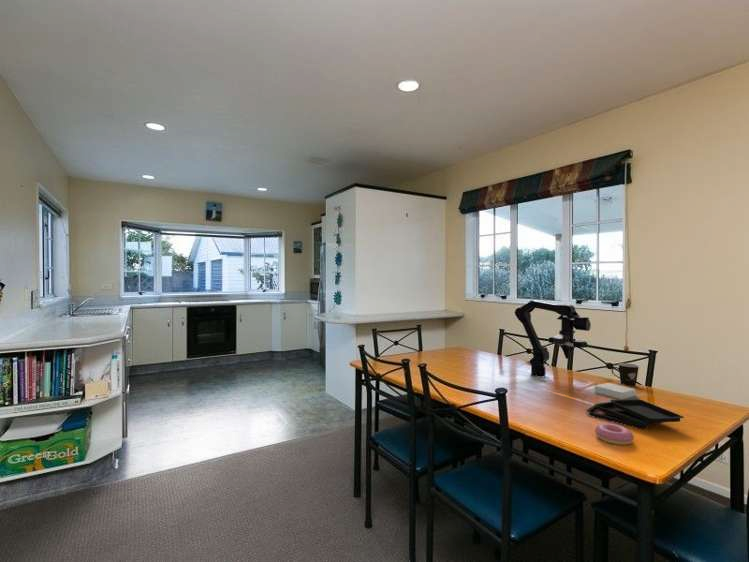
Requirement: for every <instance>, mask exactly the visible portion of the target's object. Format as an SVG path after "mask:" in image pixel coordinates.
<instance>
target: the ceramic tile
mask: <svg viewBox="0 0 749 562" xmlns="http://www.w3.org/2000/svg"><path fill="white" fill-rule="evenodd" d="M594 388H595V392H596V393H600V394H604V395H607V396H611V397H614V398H618V399H626V398H630V397H634V396H636V395H637V393H636V392H637V389H635V388H632V387H628V386H625V385H619V384H616V383H612V382H606V383H602V384H597V385H594Z"/></svg>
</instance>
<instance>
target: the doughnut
mask: <svg viewBox="0 0 749 562" xmlns="http://www.w3.org/2000/svg"><path fill="white" fill-rule="evenodd" d="M594 432H595V435H596V436H597V437H598V439H600V440H602V441H603V442H606V443H608V444H611V443H612V444H613V445H616V444H617V445H616V446H627V445H630V444H632V442H633V441H634V436H635V435H633V432H632V431H630V429H628V428H626V427H624V426H621V425H619V424H614V423H604V422H603V423H600V424H598V425H597V426H596V427H595V430H594Z"/></svg>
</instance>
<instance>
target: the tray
mask: <svg viewBox="0 0 749 562" xmlns="http://www.w3.org/2000/svg"><path fill="white" fill-rule="evenodd" d="M597 409H598V410H597ZM595 410H596V411H600V412H602V413H605V414H607V415H605V414H600V413H597V412H596V411H595ZM585 411H586V412H587V413H589V414H590V415H591V416H590V415H589V416H590V417H593V416H594V418H597V417H598V419H600V418H601V420H604V419H605V421H608V420H609V421H608V422H612V421H614V422H613V423H616V422H618V423H617V424H620V423H622V424H621V425H624V424H626V425H625V426H627V425H629V426H628V427H631V426H633V427H632V428H635V427H637V428H636V429H639V428H641V429H640V430H645V429H647V428H648V426H651V425H657V424H663V423H677V422H678V423H679V422H681V419H684V418H685V416H683V415H681V414H678V413H676V412H673V411H671V410H668V409H665V408H663V407H661V406H658V405H655V404H653V403H650V402H648V401H645V400H643V399H639V398H636V399H623V400H615V399H610V401H607V402H599V403H594V405H593V406H591V407H589V408H588V409H586V410H585ZM594 411H595V412H594ZM608 415H609V416H608ZM610 415H611V416H610ZM612 416H613V417H612Z"/></svg>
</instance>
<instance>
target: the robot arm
mask: <svg viewBox="0 0 749 562" xmlns="http://www.w3.org/2000/svg"><path fill="white" fill-rule="evenodd" d="M535 309H539V310H544V311H549V312H554V313H556V314H558V315H559V317H557V318H556V319H557V320H560V321H561V322H560V324H561V325H560V329H561V330H559V333H558V334H556V335H554V336H550V337H548V338H547V339H548V342H547V343H549V344H550V343H551V344H557V346H559V347H560V348H561V349H562V352H563V355H564V357H565V359H566V360H567V359H569V358H570V356H571V354H572V353H573V351H574V349H575V348H579V349H583V348H588V345H589V344H588V342H587V341H586V340H576V339H575V338H574V337H575V336H574V334H575V333H576V331H583V332H585V331H586V332H589V331H590V329H591V325H592V324H591V321H590V317H587V316H585V317H583V316H582V317H581V316H580V314H578V312H577V311H576V308H575V306H574V305H573V304H555V303H550V302H544V301H539V300H530V301H529V302H527V303H525V304H523V305H522V306H520V307H517V308H516V309H515V310H514V315H515V316H516V319H517V320H518V321H519V322H520V323H521V324H522V325H523V328H524V332H525V333H526V335H527V337H528V340H529V343H530V345H531V347H532V358H531V359H530V360H529V361H528V362H529V365H530V366H531V369H530V372H531V373H530V376H531V377H538V378H544V377H545V375H546V370H547V369H546V368H547V367H546V364H547V362H548V361H549V360H550V354H551V353H550V352H549V351H548V348H547V346H543V345H542V343H541V341H540V339H539V337H538V334H537V332H536V330H535V328H534V325H533V322H532V315H531V313H532V312H533V311H535ZM574 329H575V330H576V331H575V330H574ZM543 376H544V377H543Z"/></svg>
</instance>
